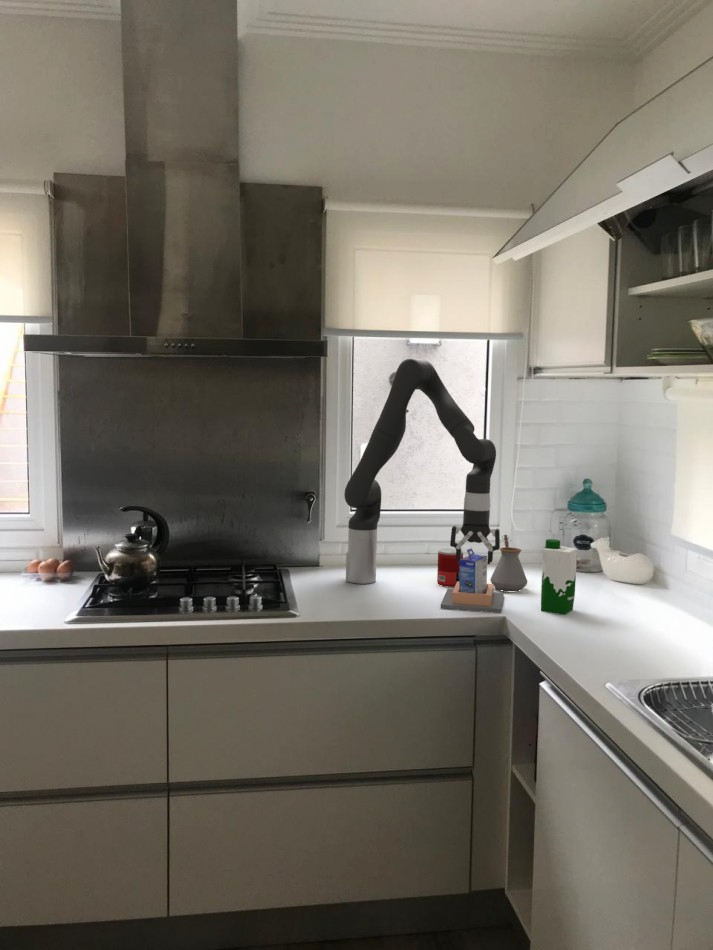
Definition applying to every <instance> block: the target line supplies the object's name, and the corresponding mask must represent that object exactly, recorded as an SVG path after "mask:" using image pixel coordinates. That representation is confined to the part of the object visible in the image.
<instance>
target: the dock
mask: <svg viewBox="0 0 713 950" xmlns="http://www.w3.org/2000/svg"><path fill="white" fill-rule="evenodd" d="M504 595H505V593H504V592H503V591H500V592H499V591H494V584H492V583H487V593H486V594H479V593H465V592H459V582H458V581H457V583H456V585H455V587H453V588H447V589H446V592H445V594H444V595H443V598H442V600H441V603H440V605H439V606H440V608H444V609H443V610H453V609H459V610H458V611H466V610H471V611H470V612H479V611H483V612H482V613H492V612H493V613H495V614H501V613H502V608H503V604H502V603H503V602H504Z"/></svg>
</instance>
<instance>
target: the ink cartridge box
mask: <svg viewBox="0 0 713 950" xmlns="http://www.w3.org/2000/svg"><path fill="white" fill-rule="evenodd" d="M466 552H467V554H468V555H467V556H465V557H463V559H461V560H460V567H459V592H465V593H479V594H486V593H487V584H488V579H487V578H488V564H487V561H488V555H481V554H475V552H474V550H473V549H472V548H468V549H466ZM470 552H471V553H470Z"/></svg>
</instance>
